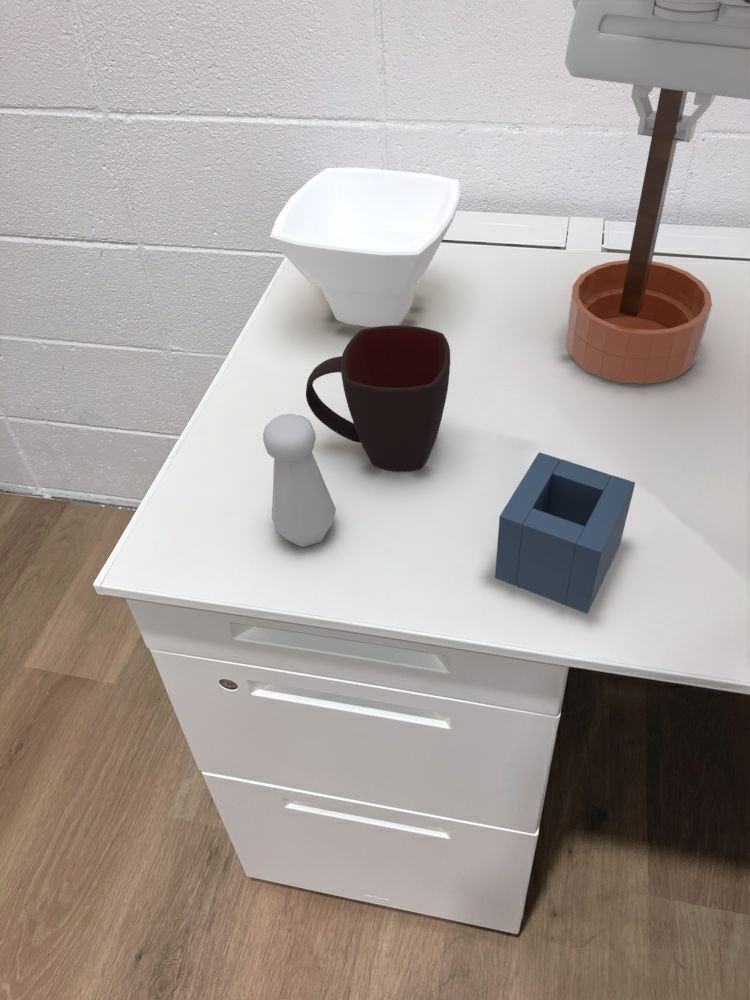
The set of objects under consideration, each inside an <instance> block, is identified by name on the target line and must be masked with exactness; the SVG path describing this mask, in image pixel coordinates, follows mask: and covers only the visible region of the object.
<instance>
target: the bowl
mask: <svg viewBox="0 0 750 1000" xmlns="http://www.w3.org/2000/svg"><path fill="white" fill-rule="evenodd" d="M460 201H461V182H460V181H459V180H458V179H453V178H449V177H445V176H441V175H436V174H431V173H421V172H420V173H419V172H411V171H402V170H401V171H400V170H390V169H382V168H381V169H379V168H368V167H367V168H366V167H356V166H355V167H327V168H325V169H324V170H323V169H322V171H321V172H319V173H318V174H316V175H315V176H312V177H311V178H310V179H308V180H307V182H306V183H305V184H303V185H302V186H301V187H300V188H299V189H298V190H297V191H296V192H295V193H294V194H293V195H292V196H291V197H290V198H289V199H288V200H287V202H286V203H285V205H284V207H283V208H282V210H281V211H280V212H279V214H278V215H277V217H275V221H274V223H273V226H272V229H271V232H270V235H269V237H270V241H271V242H272V243H273V245H275V246H276V248H277V249H278V250H279V251H280V252H281V253H282V254H283V256H284V257H285V258H287V260H288V261H289V262H290V263H291V264H292V265H293V266H294V267H295V268H296V270H297V271H298V272H299V273H300V274H301V275H302V276H303V277H304V278H305V279H306V281H307V282H308V283H310V284H313V285H316V286H319V287H320V289H321V290H322V293H323V296H324V297H325V300H326V301H327V303H328V305H329V307H330V310H331V311H332V314H333V316H334V318H335V319H336V321H339V322H341V323H345V324H347V325H352V326H359V327H364V328H365V327H366V328H372V327H378V326H391V325H401V323H402V322H403V321H404V319H405V318H406V316H407V315H408V314H409V312H410V310H411V307H412V305H413V302H414V298H415V295H416V291H417V288H418V283H419V281H420V279H421V278H422V277H423V275H424V274H425V272H426V271H427V270H428V268H429V266H430V265H431V262H432V260H433V258H434V256H435V255H436V253H437V251H438V249H439V247H440V245H441V244H442V241H443V240H444V238H445V236H446V234H447V233H448V231H449V229H450V227H451V225H452V223H453V221H454V218H455V215H456V212H457V210H458V207H459V205H460Z"/></svg>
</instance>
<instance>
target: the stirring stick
mask: <svg viewBox="0 0 750 1000" xmlns="http://www.w3.org/2000/svg"><path fill="white" fill-rule="evenodd" d="M658 96H659V97H658V102H657V107H656V111H657V112H656V117H655V122H654V128H653V133H652V136H651V139H650V145H649V150H648V155H647V161H646V166H645V172H644V176H643V182H642V187H641V192H640V198H639V202H638V209H637V215H636V219H635V224H634V228H633V229H634V230H633V236H632V241H631V247H630V251H629V257H628V260H629V261H628V267H627V272H626V277H625V283H624V288H623V293H622V299H621V304H620V309H619V313H621V314H625V315H630V316H634V317H637V315H638V314H639V312H640V310H641V309H642V306H643V301H644V296H645V291H646V287H647V282H648V277H649V272H650V268H651V263H652V261H653V257H654V253H655V250H656V249H655V248H656V244H657V238H658V234H659V228H660V224H661V220H662V215H663V210H664V205H665V201H666V197H667V192H668V186H669V181H670V177H671V172H672V167H673V163H674V158H675V153H676V148H677V144H678V141H676V140H674V135H675V133H676V125H677V122H678V120H679V119H680V118H681V116H682V115H684V110H685V106H686V100H687V96H688V92H686V91H679V90H671V89H663V88H660V91H659V95H658Z"/></svg>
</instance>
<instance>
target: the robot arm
mask: <svg viewBox="0 0 750 1000" xmlns="http://www.w3.org/2000/svg"><path fill="white" fill-rule="evenodd" d="M572 5H573V10H574V15H573V18H572V22H571V26H570V31H569V35H568V40H567V45H566V51H565V58H564V65H565V67H566V69H567V71H568V73H569V75H570V76H571V77H574V78H579V79H586V80H587V79H588V80H595V81H602V82H610V83H616V84H617V83H618V84H625V85H632V89H631V96H630V97H631V99H632V102H633V105H634V108H635V110H636V112H637V115H638V117H639V122H638V128H637V135H638V136H646V137H652V133H653V128H654V122H655V117H656V112H657V110H653V107H652V103H651V99H650V96H649V95H650V93H651V92H652V91H653V90H654V88H657V89H661V88H663V89H671V90H679V91H686V92H687V93H695V94H694V99H693V100H694V101H693V104H694V105H695V106H697V107H696V109H694V111H693V112H692V114H690V115H685V114H683V115H682V116H681V118H680V119H679V120H678V122H677V125H676V133H675V135H674V140H676V141H677V142H684V143H690V142H691V141H692V139H693V137H694V135H695V132H696V127H697V122H698V121H699V119H700V118H701V117H702V116H703V115H704V114H705V112H706V111H707V110H708V109H709V108H710V107H711V105H712V104H713V102H714V101H715V100H716V96H719V97H726V98H734V99H740V100H749V101H750V0H572Z"/></svg>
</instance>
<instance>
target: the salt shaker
mask: <svg viewBox="0 0 750 1000" xmlns="http://www.w3.org/2000/svg"><path fill="white" fill-rule="evenodd" d="M316 439H317V436H316V432H315V429H314V427H313V424H312V422H311V420H309V419H308V418H306V417H305V416H303V415H300V414H295V413H285V414H280V415H278V416H276V417H274V418H272V419H271V420H270V421H269V422H268V423H267V424H266V425H265V426H264V429H263V433H262V441H263V444H264V447H265V450H266V453H267V454H268V455H269V456H270V457H271V458H273V477H272V479H273V481H272V498H271V499H272V500H271V519H272V522H273V524H274V528H275V529H276V531H277V532H278V533H279V534H280V536H282V537H283V538H284V539H285V540H286V541H288V542H290V543H292V544H294V545H296V546H299V547H301V548H306V547H310V546H312V545H316V544H319V543H322V542H323V540H324V538H325V536H326V534H327V533H328V531H329V530H330V528H331V527H332V525H333V524H334V521H335V516H336V506H335V504H334V502H333V499H332V496H331V494H330V492H329V489H328V487H327V484H326V481H325V480H324V477H323V475H322V473H321V470H320V468H319V466H318V462H317V460H316V458H315V456H314V454H313V450H314V448H315V445H316V444H315V443H316Z"/></svg>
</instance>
